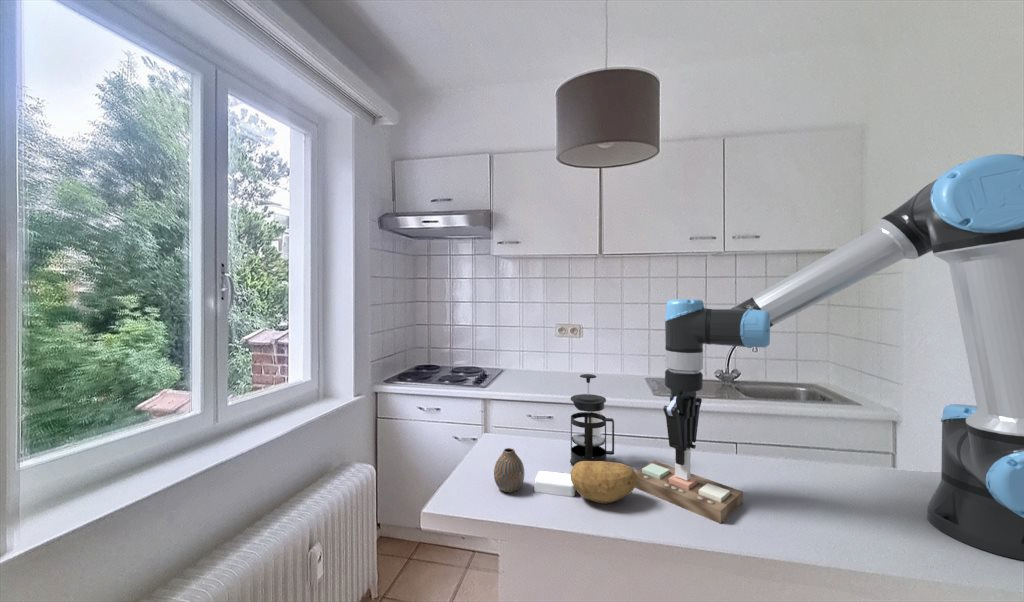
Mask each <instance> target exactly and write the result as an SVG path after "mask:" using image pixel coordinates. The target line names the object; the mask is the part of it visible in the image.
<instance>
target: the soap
mask: <svg viewBox="0 0 1024 602" xmlns="http://www.w3.org/2000/svg"><path fill="white" fill-rule="evenodd" d="M533 484H534V485H533V486H534V487H533V488H534V489H533V490H534V492H535V493H539V492H542V493H541V494H546V493H548V495H554V494H555V495H556V496H561V495H562V496H563V497H570V498H572V497H575V494H576V491H577V490H576V488H575V487H574V485H573V483H572V481H571V473H563V472H555V471H546V470H538V472H537V475H536V477H535V479H534V481H533ZM555 495H554V496H555Z"/></svg>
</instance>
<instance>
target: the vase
mask: <svg viewBox="0 0 1024 602" xmlns="http://www.w3.org/2000/svg"><path fill="white" fill-rule="evenodd" d="M493 478H494V482H495V484H496V486H497V488H498V489H499V490H500V491H502V492H503V491H504V492H503V493H507V492H511V493H515V492H517V491H518V490H520V488H521V487H522V485H523V483H524V481H525V467H524V464H523V462H522V459H521V458H520V457H519V456H518V455H517V453H516V451H515V449H514V448H512V447H505V448H504V449H503V451H502V453H501V455H500V456H499V457H498V458H497V460H496V462H495V464H494V468H493Z"/></svg>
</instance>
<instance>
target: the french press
mask: <svg viewBox="0 0 1024 602" xmlns="http://www.w3.org/2000/svg"><path fill="white" fill-rule="evenodd" d="M579 377H580V378H583V379H586V380H585V381H586V383H587V393H584V394H583V393H582V394H575V395H572V396H571V397H570V401H571V402H573V403H572V404H573V405H574V406H575V408H576V409H577V410H578V411H581V412H575V413H573V414H571V415H570V459H569V464H570V463H571V464H570V465H571V466H572V467H573V466H574V465H575V464H576V463H578V462H580V461H604V462H607V455H609V456H610V455H612V456H614V454H615V420H614V418H611V417H610V418H609V417H606V416H605V415H603V414H601V413H598V412H599V411H603V410H604V409H605V403H606V402H607V399H606V397H604V396H601V395H598V394H590V383H591V379H596V378H597V375H594V374H591V373H586V374H583V373H582V374H580V376H579ZM596 412H597V413H596ZM579 418H583V419H584V421H578V420H576V419H579ZM592 418H593V419H598V420H600V421H599V422H592ZM607 422H610V423H611V443H612V445H611V450H607ZM573 426H574V427H578V428H582V429H584V432H582V433H576V434H573ZM603 427H604V437H603V436H602V435H599V434H597V433H593V430H594V429H599V428H603ZM573 444H575V445H574V446H573ZM603 445H604V447H601V446H603Z"/></svg>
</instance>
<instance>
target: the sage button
mask: <svg viewBox="0 0 1024 602" xmlns="http://www.w3.org/2000/svg"><path fill="white" fill-rule="evenodd" d="M645 466H646V465H645ZM643 467H644V466H643ZM641 468H642V467H641ZM642 473H644V474H647V475H650V476H652V477H655V478H657V479H662V478H664V477H665V476H667V475H669V474H670V469H667V468H664V467H661V466H658V465H656V464H653V463H652V464H650V465H648V466H646V467H644V468H642Z"/></svg>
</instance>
